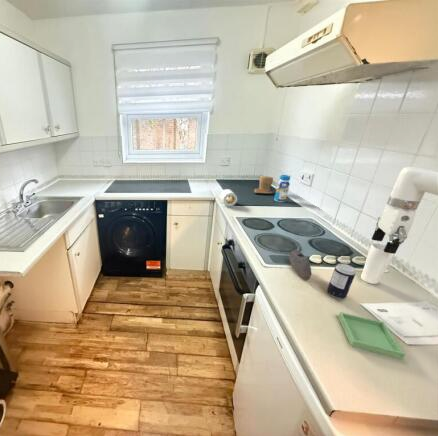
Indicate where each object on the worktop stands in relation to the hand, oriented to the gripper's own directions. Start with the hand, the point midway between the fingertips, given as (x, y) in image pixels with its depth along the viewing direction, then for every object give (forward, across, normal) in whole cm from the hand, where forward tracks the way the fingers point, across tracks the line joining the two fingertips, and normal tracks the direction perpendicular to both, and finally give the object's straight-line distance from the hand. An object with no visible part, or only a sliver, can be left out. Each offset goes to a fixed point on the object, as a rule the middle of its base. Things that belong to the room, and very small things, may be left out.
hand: (382, 246), depth 89 cm
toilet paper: (+17, +76, +59) cm, 98 cm away
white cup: (+16, 0, -1) cm, 16 cm away
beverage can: (+16, -15, +14) cm, 26 cm away
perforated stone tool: (+16, -4, +24) cm, 29 cm away
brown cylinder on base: (+17, +117, +33) cm, 123 cm away
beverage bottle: (+17, +99, +21) cm, 102 cm away
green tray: (+15, -33, +11) cm, 38 cm away
